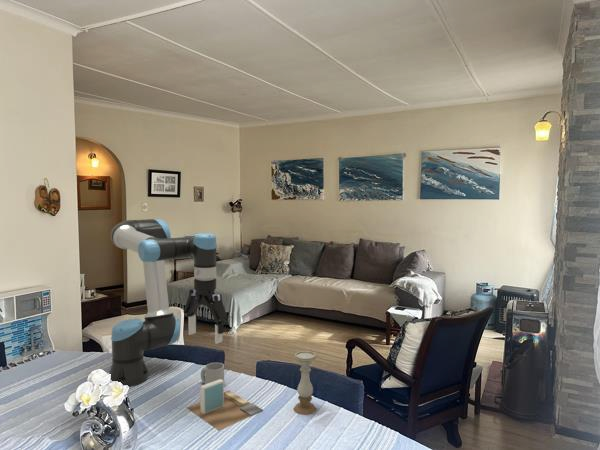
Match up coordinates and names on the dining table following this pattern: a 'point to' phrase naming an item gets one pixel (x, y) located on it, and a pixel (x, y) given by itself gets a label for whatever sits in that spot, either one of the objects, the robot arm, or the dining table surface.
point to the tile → (212, 396)
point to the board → (221, 414)
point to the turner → (242, 403)
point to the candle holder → (305, 384)
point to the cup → (212, 372)
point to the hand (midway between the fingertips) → (205, 338)
